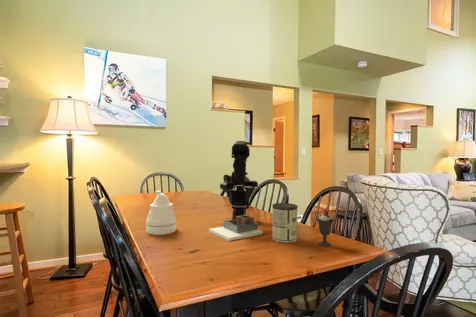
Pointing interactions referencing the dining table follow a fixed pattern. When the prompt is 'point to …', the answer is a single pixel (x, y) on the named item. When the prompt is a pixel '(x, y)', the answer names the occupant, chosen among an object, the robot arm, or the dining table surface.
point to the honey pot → (161, 216)
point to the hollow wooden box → (244, 219)
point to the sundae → (325, 227)
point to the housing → (239, 226)
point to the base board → (233, 233)
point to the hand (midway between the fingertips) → (239, 203)
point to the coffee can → (284, 222)
